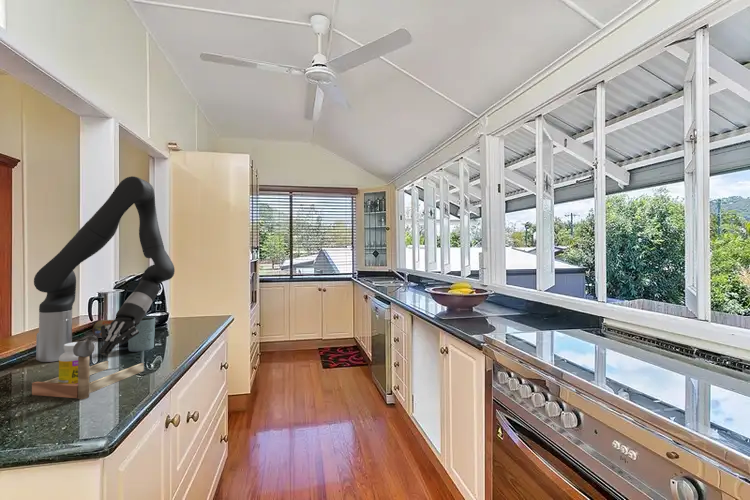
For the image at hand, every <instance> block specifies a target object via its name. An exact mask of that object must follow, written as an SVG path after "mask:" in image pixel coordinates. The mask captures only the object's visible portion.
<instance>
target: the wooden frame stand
mask: <svg viewBox="0 0 750 500" xmlns="http://www.w3.org/2000/svg"><path fill="white" fill-rule="evenodd" d="M97 339H98V338H97V337H96V336H94V335H87V336H86V340H80V341H76V342H77V343H76V344H75V346H74V348H73V353H74V355H75V356H79V357H78V384H65V383H58V378H59V376H57V377H54V378H51V379H48V380H45V381H34V382H32V383H31V395H32V396H42V397H56V398H67V399H69V398H70V399H77V400H86V399H88V398H89V397H90V394H91V393H93V392H96V391H98V390H100V389H104V388H105V387H107V386H110V385H113V384H115V383H117V382H121V381H123V380H125V379H127V378H130V377H132V376H134V375H138V374H140V373H142V372H144V370H145V369H144V367H145V366H144V362H141V363H138V364H135V365H132V366H130V367H128V368H124V369H122V370H119V371H116V372H113V373H111V374H108V375H105V376H104V377H100V378H99V379H95V380H94V381H90V376H92V375H94V374H95V375H96V374H98V373H101V372H103V371H106V370H109V361H108V360H104V361H101V362H99V363H96V364H93V365H90V359H91V358H90V356H91V355H93V353H94V351H95V344H94V342H93V341H96V340H97Z"/></svg>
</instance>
